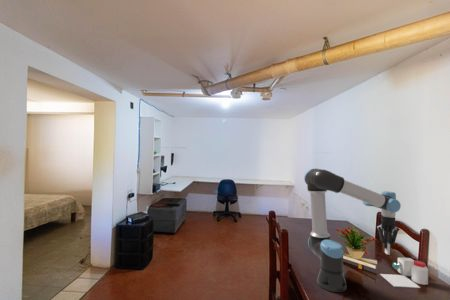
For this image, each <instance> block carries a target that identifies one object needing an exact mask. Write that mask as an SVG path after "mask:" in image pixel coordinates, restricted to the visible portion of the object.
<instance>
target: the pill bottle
mask: <svg viewBox="0 0 450 300" xmlns="http://www.w3.org/2000/svg"><path fill="white" fill-rule="evenodd" d="M410 280H411V281H412V282H414V283H415V284H417V285H418V284H419V285H423V286H426V285H429V269H428V267H427V265H426V263H425V262H424V261H422V260H414V263H413V264H412V265H411V276H410Z"/></svg>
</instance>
